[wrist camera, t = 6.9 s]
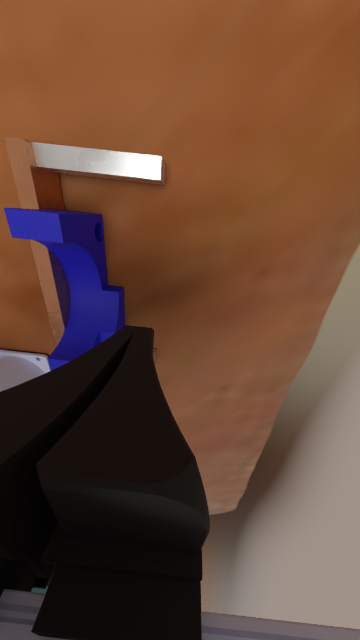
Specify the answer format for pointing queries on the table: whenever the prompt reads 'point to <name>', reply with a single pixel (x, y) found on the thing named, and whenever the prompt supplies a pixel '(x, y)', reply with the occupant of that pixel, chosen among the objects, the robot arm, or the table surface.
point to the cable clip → (76, 275)
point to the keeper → (45, 193)
